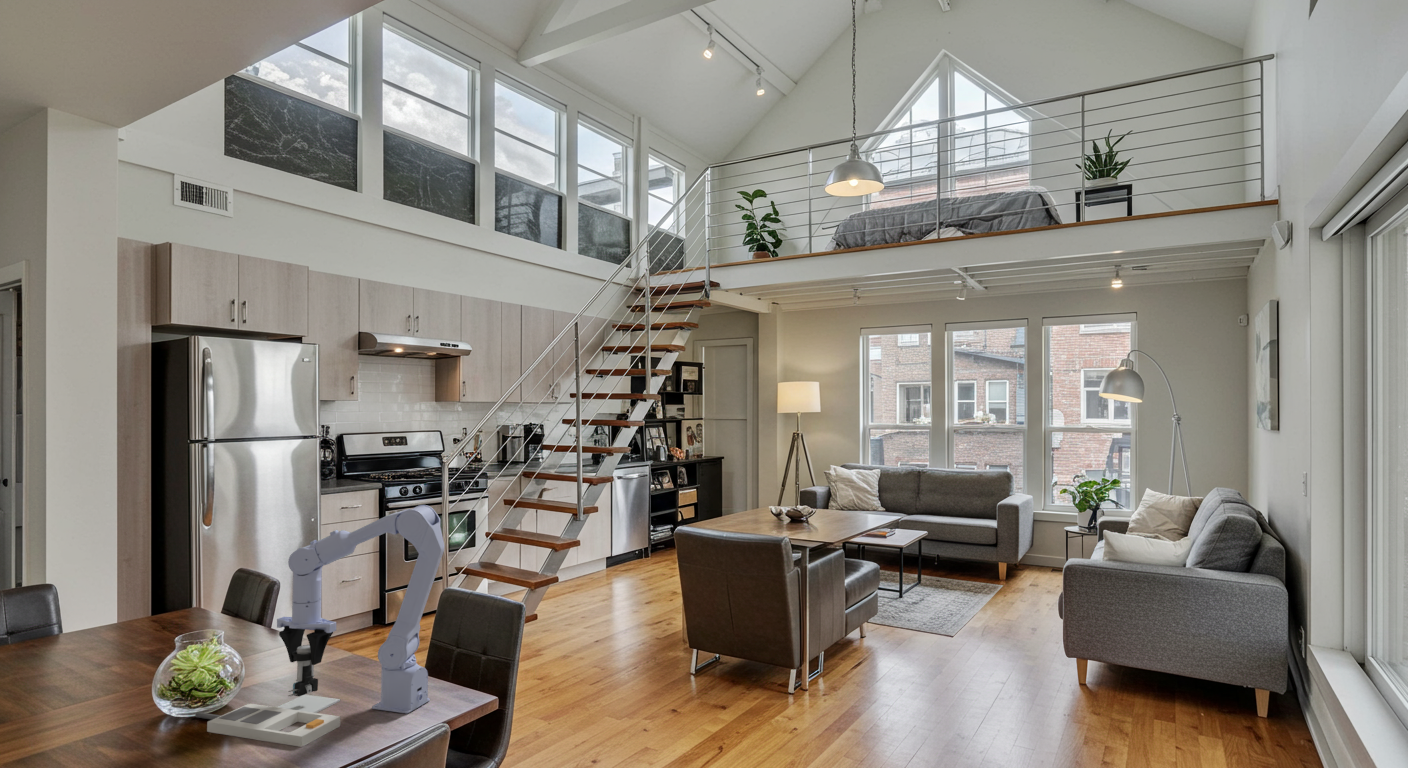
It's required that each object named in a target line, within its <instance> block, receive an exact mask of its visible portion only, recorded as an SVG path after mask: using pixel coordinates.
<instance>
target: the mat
mask: <svg viewBox="0 0 1408 768" xmlns="http://www.w3.org/2000/svg"><path fill="white" fill-rule="evenodd" d="M339 702H341V699H340V698H334V697H333V698H332V697H327V696H320V695H319V696H318V695H311V694H305V695H302V696H297V697H295V698H293V699H291V700H290V701H287V702H285V703H283V704H281V705H278V706H277V707H278V708H285V709H292V710H299V711H306V712H313V713H319V712H322V711H323V710H326V709H328V708H329V707H331V706H333V705H335V704H338V703H339Z"/></svg>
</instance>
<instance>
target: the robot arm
mask: <svg viewBox="0 0 1408 768" xmlns="http://www.w3.org/2000/svg"><path fill="white" fill-rule="evenodd" d="M386 533H387V534H391V535H398V534H400V536H401V537H403V538H404V539H405V540H406V541H408V542H409V543H410V544H412V546H413V547H414V548H415V550H416V551H417V553H418V556H417V558H416V560H415V561H416V562H415V564H414V568H413V570H412V572H411V576H410V579H409V582H408V585H407V588H406V591H405V594H404V597H403V599H402V603H401V605H400V609H399V611H398V614H397V618H396V620H395V621H394V624H393V626H392V627H391V628H390V631H389V633H388V635H387V638H386V639H385V641H384V642H383V643H382V644H381V645H380V646H379V648H378V651H377V659H378V663H380V665H381V672H380V673H381V675H380V676H381V677H380V679H381V681H380V682H381V684H380V689H381V691H380V701H379V702H377V703H375V704H374V705H372V706H371V709H372V710H379V711H387V712H394V713H402V714H410V713H411V712H412V711H414V710H416V709H417V708H419V707H421V706H423V705H425V704H426V703H429V702H430V700H431V699H430V697H429V696H428V695H429V672H428V670H427V669H426V667H425V666H421V665H419V664H418V662H417V658H416V655H415V653H416V652H417V651H418V649H419V647H420V632H421V631H420V630H421V628H422V627H421V625H420V623H421V620H422V617H423V614H424V610H425V607H426V605H427V602H428V599H429V597H430V593H431V591H432V587H433V584H434V581H435V578H436V575H437V573H438V570H439V566H440V564H441V561H442V557H443V555H444V552H445V542H444V538H443V532H442V528H441V518H440V516H439V515H438V513H437V512H436V510H435V509H434V508H433V507H431V506H430V505H426V504H419V505H417V506H415V507H413V508H406V509H403V510H401V511H397V512H393V513H390V514H388V515H385V516H384V517H381V518H379V519H377V520H375V521H373V522H371V523H369V524H366V525H364V526H362V527H360V528H358V529H356V530H354V531H351V532H350V531H348V530H346V529H345V530H344V529H343V530H342V529H341V530H340V531H339V530H338V529H336V530H335V529H334V530H333V531H331V532H329V535H328V536H325V537H324V538H323V537H322V538H321V539H319V540H318V539H313V540H312V541H310V542H309V544H308V545H306V546H303V547H299V548H297V549H296V550H294V551H293V552H291V554H290V555H289V557H288V562H287V563H288V567H289V569H290V571H291V572H292V599H291V601H292V603H291V604H292V605H291V608H292V609H291V610H292V611H291V616H282V617H279V618H277V619H276V628H281V629H282V628H283V629H282V630H281V631H279V633H278V635H279V637H280V638H281V640H282V641H283V643H284V646H285V649H286V651H287V654H288V659H289V662H290V663H294V662H296V661H295V660H293V658H294V656H293V655H292V653H293V652H294V651H297V648H298V647H299V646H303V645H302V643H303V639H304V635H305V630H307V631H308V630H309V631H314V632H311V633H306V638H307V640H308V645H310V650H311V664H312V665H314V666H315V665H318V664H321V663H322V660H323V656H324V653H325V651H326V650H325V649H326V647H327V644H328V643H329V641H330V639H331V637H332V635H333V634H334V632H337V621H332V620H329V619H326V618H323V617H322V586H323V585H322V583H323V582H322V580H323V579H322V577H323V576H322V572H323V571H322V569H323V567H324V566H328V565H331V564H332V563H334V562H337V561H339V560H340V559H342V558H345V557H347V556H350V555H351V554H353V553H354V552H355V550H356V547H357V546H358V545H360V544H362V543H365V542H367V541H369V540H371V539H374V538H377V537H379V536H381V535H384V534H386Z"/></svg>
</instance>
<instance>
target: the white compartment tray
mask: <svg viewBox="0 0 1408 768" xmlns="http://www.w3.org/2000/svg"><path fill="white" fill-rule="evenodd" d="M194 716H195V718H199V719H204V720H205V719H206V720H208V721H207V722H206V732H208V733H212V734H217V735H218V734H220V735H226V736H231V737H239V738H245V739H249V740H257V741H263V742H268V743H275V744H281V745H288V746H294V747H301V748H303V747H305V746H306V745H308V744H310V743H312V742H314V741H315V740H317V739H319V738H321V737H324V736H325V735H327V734H329V733H330V732H332V731H333V730H334V731H335V730H337V728H340V727H341V716H340V715H334V714H333V715H332V714H327V713H319V712H317V713H313V712H306V711H299V710H292V709H285V708H278V706H270V705H262V704H256V703H247V704H245V705H242V706H240V707H239V708H235V709H234V710H231V711H228V712H226V713H224V714H222V715H220V714H212V713H207V712H206V713H205V712H202V711H199V712H198V711H197V712H196V713H195V715H194ZM296 723H304V725H302V726H300V727H299V728H296V729H294V730H292V731H290V732H289V731H288V732H287V731H283V730H284V729H286V728H288V727H291V726H292V725H294V724H296Z"/></svg>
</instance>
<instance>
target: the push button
mask: <svg viewBox="0 0 1408 768" xmlns="http://www.w3.org/2000/svg"><path fill="white" fill-rule="evenodd" d="M292 655H293V656H294V658H293V660H295V662H296V664H297V665H296V666H297V668H296V669H297V670H296V680H295V682H294V683H292V689H290V690H288V693H292V694H289V695H287V697H292V696H295V697H300V696H302V695H310V694H311V693H312V692H317V691H318V689H319V679H318V678H316V677H315V675H314V671H315V670H314V669H315V665H312V664H311V650H310V644H304V645H301V646H299V647H298V648H297V651H294V652H293V653H292Z"/></svg>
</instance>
